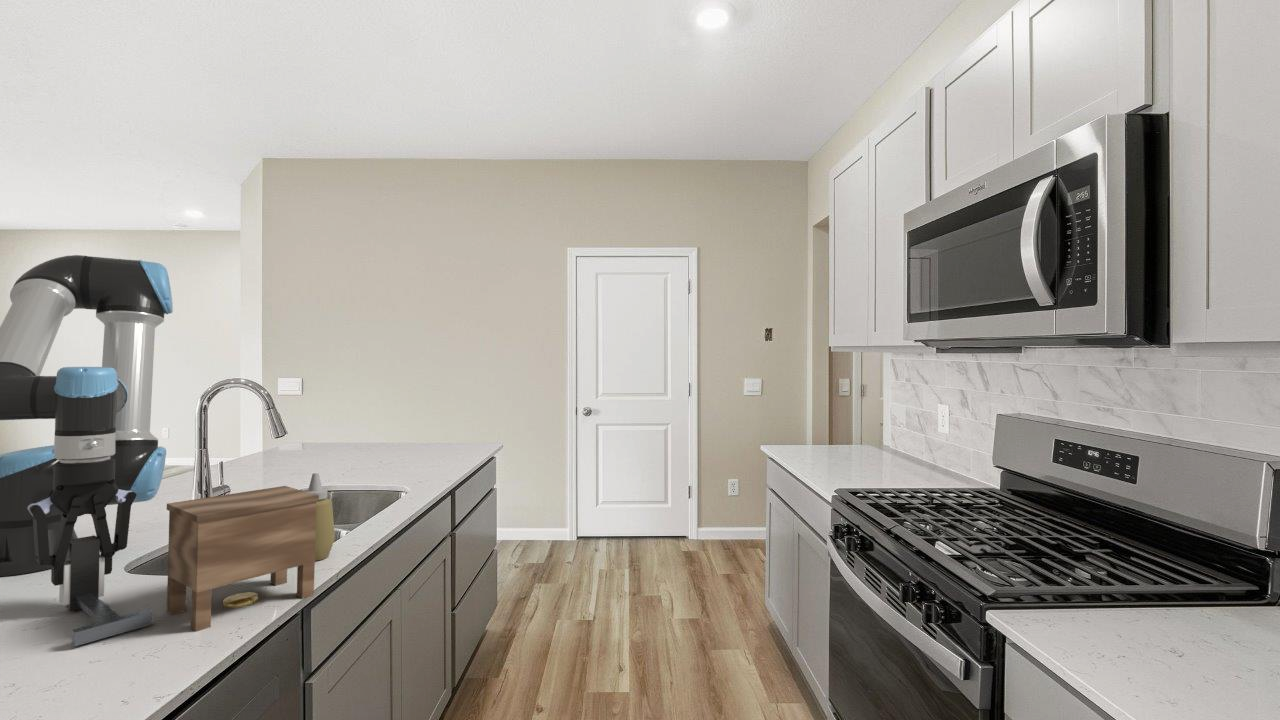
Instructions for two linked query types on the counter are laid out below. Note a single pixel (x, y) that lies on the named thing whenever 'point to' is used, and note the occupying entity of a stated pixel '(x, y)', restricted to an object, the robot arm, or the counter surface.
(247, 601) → the brass token
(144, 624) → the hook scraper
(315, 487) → the squeeze bottle
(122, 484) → the robot arm
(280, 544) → the walnut cabinet
